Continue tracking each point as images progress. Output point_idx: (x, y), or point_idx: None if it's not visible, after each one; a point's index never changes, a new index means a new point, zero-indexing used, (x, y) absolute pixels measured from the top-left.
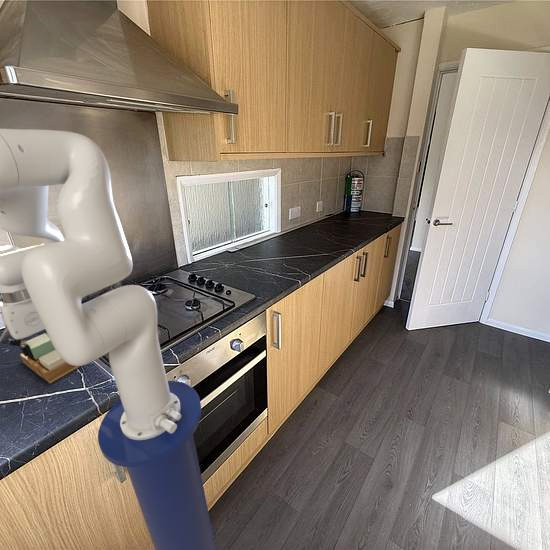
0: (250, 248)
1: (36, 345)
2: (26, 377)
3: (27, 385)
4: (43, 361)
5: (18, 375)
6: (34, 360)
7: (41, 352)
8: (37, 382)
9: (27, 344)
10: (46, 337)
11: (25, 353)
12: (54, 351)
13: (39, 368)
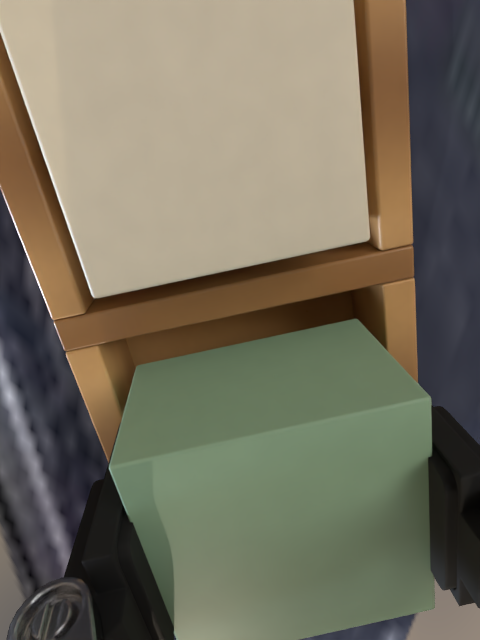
0: None
1: (355, 446)
2: (433, 231)
3: (474, 84)
4: (357, 80)
5: (457, 312)
6: None
7: (304, 357)
8: (407, 52)
9: (445, 526)
10: (197, 561)
11: (451, 423)
12: (181, 241)
13: (401, 69)
